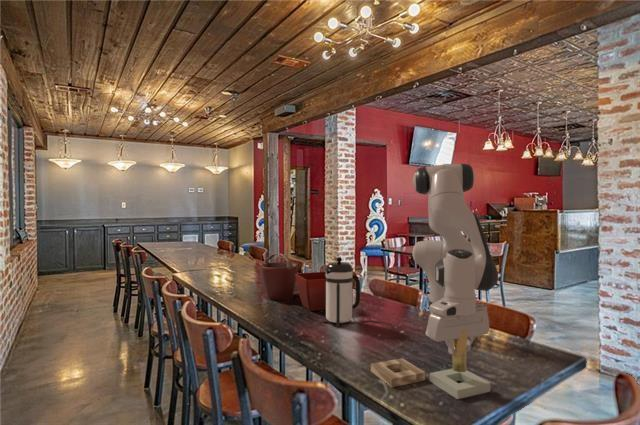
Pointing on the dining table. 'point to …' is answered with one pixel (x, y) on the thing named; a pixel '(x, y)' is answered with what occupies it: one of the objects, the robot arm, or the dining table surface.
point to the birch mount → (400, 378)
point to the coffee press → (340, 292)
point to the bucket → (278, 278)
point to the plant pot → (312, 290)
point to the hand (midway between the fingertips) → (459, 352)
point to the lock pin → (460, 353)
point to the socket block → (460, 390)
